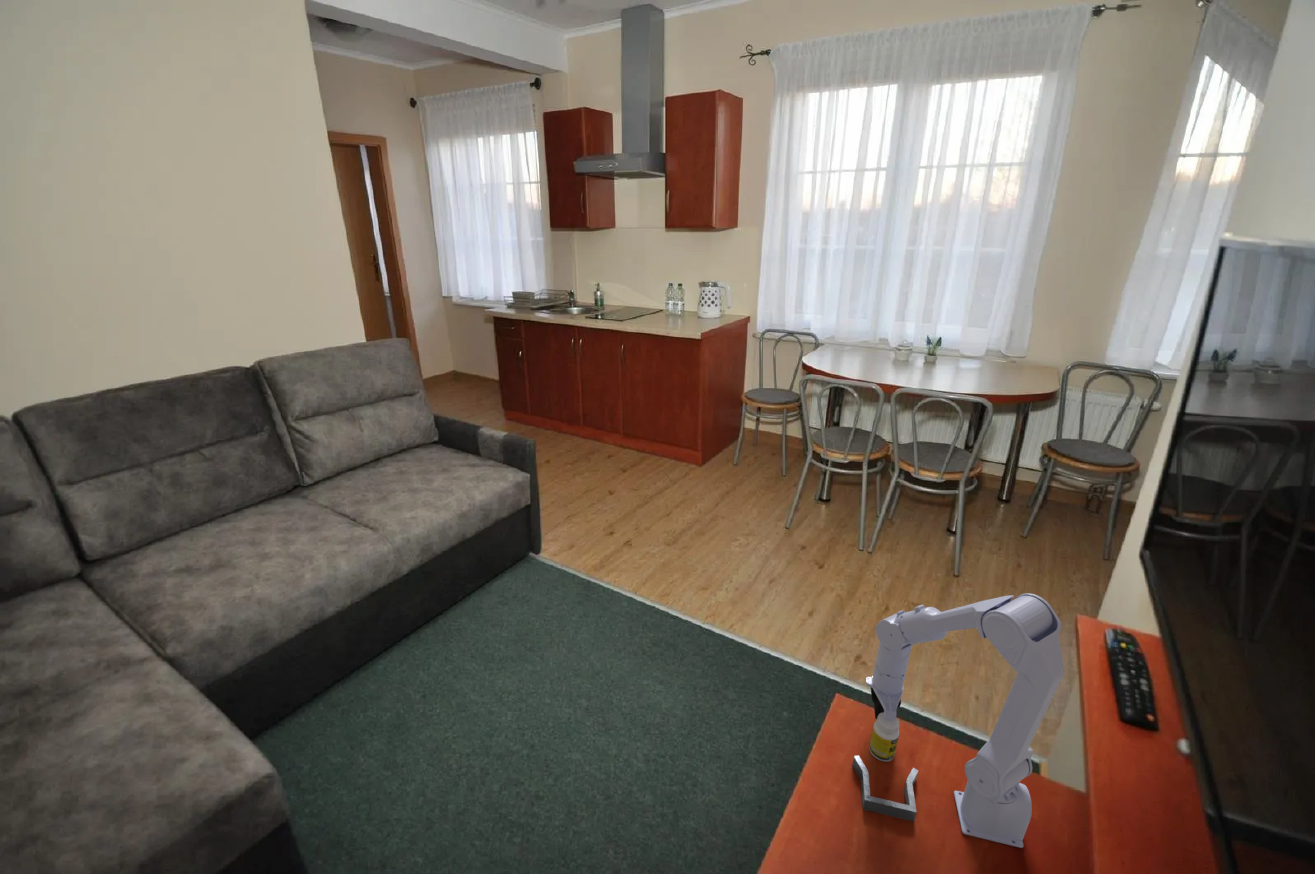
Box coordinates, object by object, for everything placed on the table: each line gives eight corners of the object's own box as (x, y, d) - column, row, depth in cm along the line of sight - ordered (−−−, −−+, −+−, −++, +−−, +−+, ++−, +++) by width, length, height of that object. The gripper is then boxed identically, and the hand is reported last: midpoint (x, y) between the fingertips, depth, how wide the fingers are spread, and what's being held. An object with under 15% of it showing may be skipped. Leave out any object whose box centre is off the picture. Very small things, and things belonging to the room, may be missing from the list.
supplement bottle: (890, 767, 112) (897, 735, 109) (865, 753, 115) (871, 722, 111) (897, 749, 116) (904, 718, 112) (873, 737, 118) (879, 706, 115)
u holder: (915, 777, 110) (918, 768, 109) (923, 824, 102) (925, 814, 101) (852, 763, 113) (853, 754, 112) (854, 807, 105) (856, 797, 104)
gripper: (867, 638, 122) (858, 687, 128) (872, 690, 109) (862, 742, 115) (902, 644, 121) (892, 693, 126) (912, 698, 108) (900, 751, 113)
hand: (880, 717), depth 120 cm, fingers closed
